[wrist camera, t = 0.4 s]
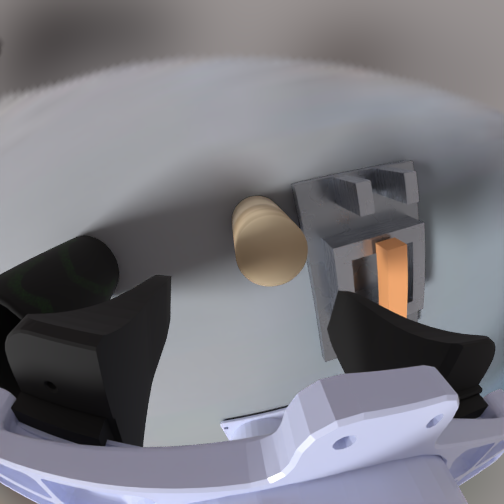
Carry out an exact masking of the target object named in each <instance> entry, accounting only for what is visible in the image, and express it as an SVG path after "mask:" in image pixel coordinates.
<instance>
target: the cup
mask: <svg viewBox="0 0 504 504" xmlns="http://www.w3.org/2000/svg"><path fill="white" fill-rule="evenodd" d="M118 278H119V270H118V264H117V262H116V259H115V257H114V255H113V254H112V252H111V250H110V249H109V248H108V247H107V246H106V245H105V244H104V243H102V242H101V241H100V240H98V239H96V238H93V237H90V236H79V237H76V238H73V239H71V240H69V241H67V242H65V243H62V244H60V245H58V246H56V247H54V248H52V249H50V250H48V251H46V252H43V253H41V254H39V255H37V256H35V257H33V258H31V259H29V260H27V261H25V262H23V263H21V264H19V265H17V266H15V267H14V268H12V269H10V270H8V271H6V272H4V273H2V274H0V388H3V389H5V390H7V391H9V392H10V393H11V394H13V395H14V396H15V397H16V399H17V397H18V396H19V394H20V392H21V390H20V388H19V385H18V383H17V381H16V379H15V376H14V374H13V372H12V369H11V367H10V364H9V362H8V359H7V355H6V351H5V341H6V338H7V335H8V334H9V333H10V332H11V331H12V330H13V329H14V328H15V327H16V326H17V325H18V323H19V322H20V321H21V320H22V319H23V318H24V317H25V316H26V315H27V314H46V313H59V312H67V311H73V310H78V309H82V308H86V307H90V306H94V305H97V304H100V303H103V302H106V301H108V300H110V299H111V297H112V294H113V292H114V290H115V288H116V286H117V283H118Z"/></svg>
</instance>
